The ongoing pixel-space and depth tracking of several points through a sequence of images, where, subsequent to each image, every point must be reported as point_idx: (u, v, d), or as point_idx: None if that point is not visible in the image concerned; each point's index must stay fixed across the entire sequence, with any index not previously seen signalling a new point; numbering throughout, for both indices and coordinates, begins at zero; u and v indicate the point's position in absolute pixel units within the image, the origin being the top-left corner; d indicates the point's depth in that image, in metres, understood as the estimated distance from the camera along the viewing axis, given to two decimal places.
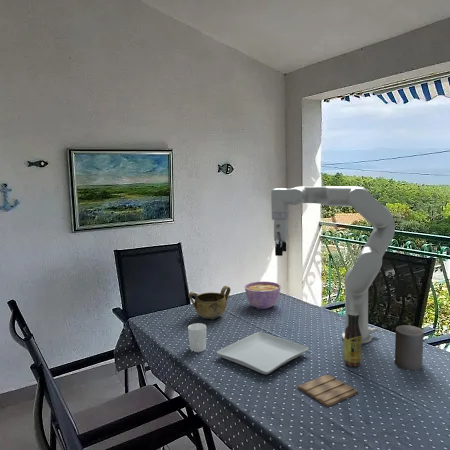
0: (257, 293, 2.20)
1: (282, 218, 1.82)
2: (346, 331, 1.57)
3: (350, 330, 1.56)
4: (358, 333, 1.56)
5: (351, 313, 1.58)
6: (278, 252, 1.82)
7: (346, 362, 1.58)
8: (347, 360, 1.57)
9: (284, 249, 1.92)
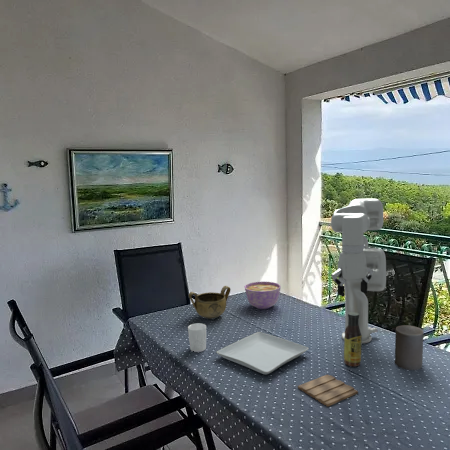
0: (257, 293, 2.20)
1: None
2: (346, 331, 1.57)
3: (350, 330, 1.56)
4: (358, 333, 1.56)
5: (351, 313, 1.58)
6: None
7: (346, 362, 1.58)
8: (347, 360, 1.57)
9: None
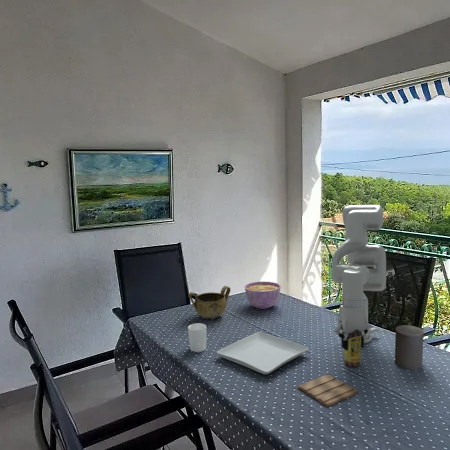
0: (257, 293, 2.20)
1: None
2: None
3: None
4: (358, 333, 1.56)
5: None
6: None
7: (346, 362, 1.58)
8: (347, 360, 1.57)
9: None
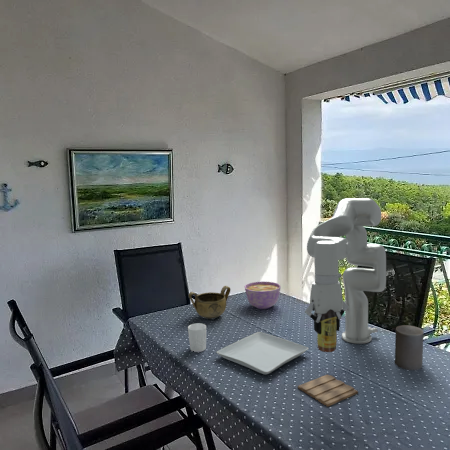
0: (257, 293, 2.20)
1: None
2: None
3: None
4: (332, 313, 1.35)
5: None
6: None
7: (319, 347, 1.38)
8: (320, 345, 1.37)
9: None
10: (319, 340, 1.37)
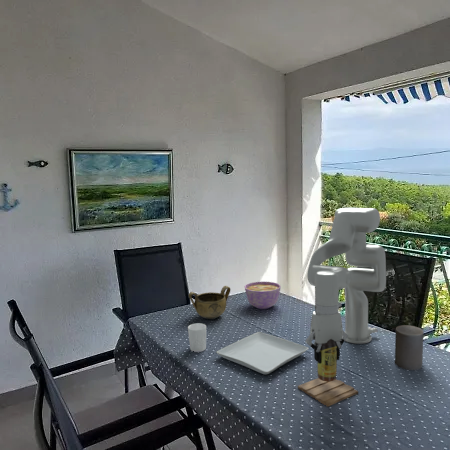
0: (257, 293, 2.20)
1: None
2: None
3: None
4: (332, 343, 1.36)
5: None
6: None
7: (319, 376, 1.39)
8: (320, 374, 1.38)
9: None
10: (319, 369, 1.39)
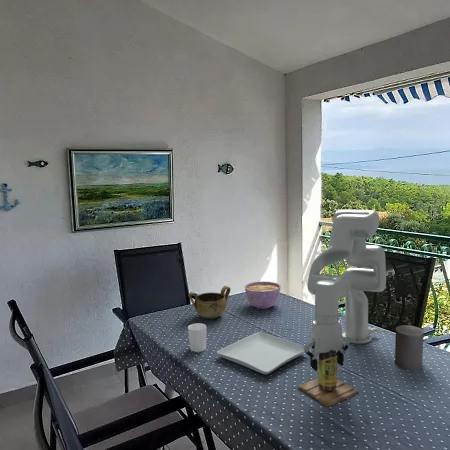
0: (257, 293, 2.20)
1: None
2: None
3: None
4: (333, 353, 1.37)
5: None
6: None
7: (320, 386, 1.40)
8: (321, 384, 1.39)
9: None
10: (320, 379, 1.39)
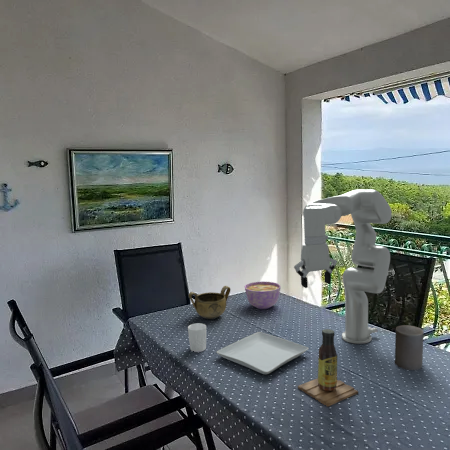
0: (257, 293, 2.20)
1: None
2: (320, 351, 1.39)
3: (325, 350, 1.38)
4: (333, 353, 1.37)
5: (325, 330, 1.39)
6: None
7: (320, 386, 1.40)
8: (321, 384, 1.39)
9: None
10: (320, 379, 1.39)
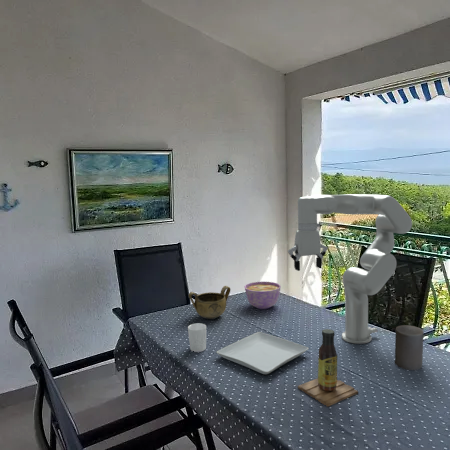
0: (257, 293, 2.20)
1: None
2: (320, 351, 1.39)
3: (325, 350, 1.38)
4: (333, 353, 1.37)
5: (325, 330, 1.39)
6: None
7: (320, 386, 1.40)
8: (321, 384, 1.39)
9: None
10: (320, 379, 1.39)
